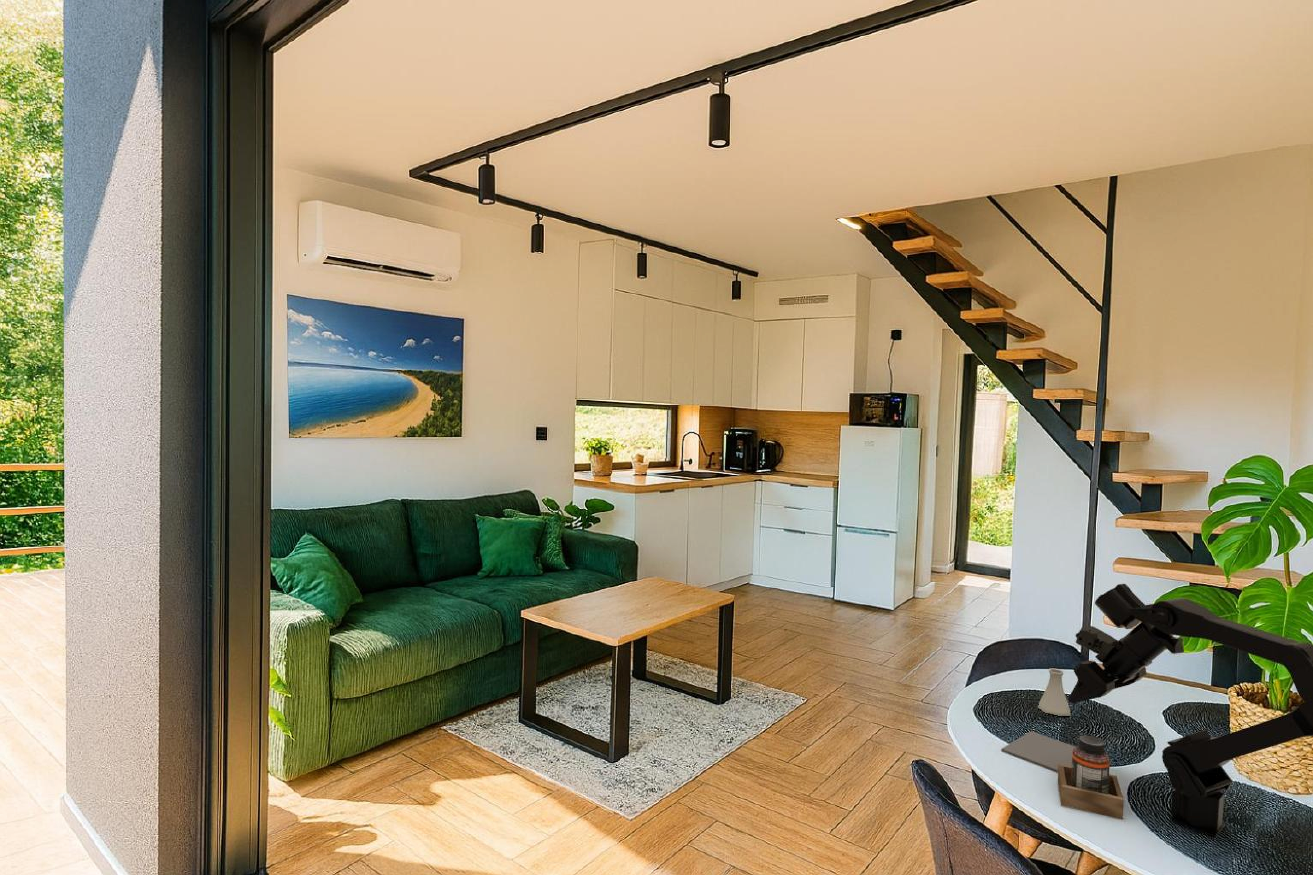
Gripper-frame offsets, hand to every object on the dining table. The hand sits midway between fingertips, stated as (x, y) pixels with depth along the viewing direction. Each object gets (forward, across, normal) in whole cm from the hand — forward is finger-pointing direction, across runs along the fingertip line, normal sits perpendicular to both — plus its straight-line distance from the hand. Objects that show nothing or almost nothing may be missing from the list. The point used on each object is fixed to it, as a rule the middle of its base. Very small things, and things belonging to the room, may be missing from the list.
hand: (1080, 696), depth 145 cm
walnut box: (+8, +9, +14) cm, 19 cm away
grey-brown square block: (+16, -3, +4) cm, 17 cm away
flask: (+22, -27, -4) cm, 35 cm away
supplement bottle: (+9, +9, +14) cm, 19 cm away
